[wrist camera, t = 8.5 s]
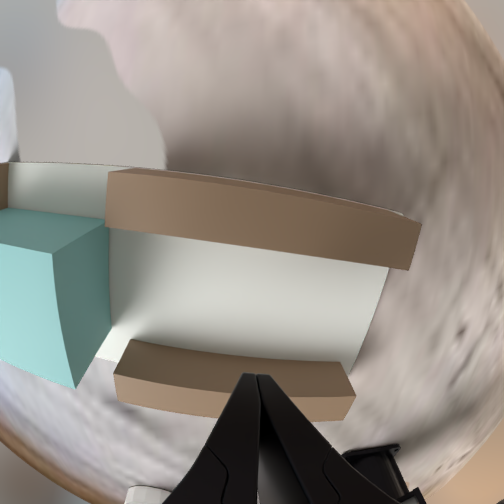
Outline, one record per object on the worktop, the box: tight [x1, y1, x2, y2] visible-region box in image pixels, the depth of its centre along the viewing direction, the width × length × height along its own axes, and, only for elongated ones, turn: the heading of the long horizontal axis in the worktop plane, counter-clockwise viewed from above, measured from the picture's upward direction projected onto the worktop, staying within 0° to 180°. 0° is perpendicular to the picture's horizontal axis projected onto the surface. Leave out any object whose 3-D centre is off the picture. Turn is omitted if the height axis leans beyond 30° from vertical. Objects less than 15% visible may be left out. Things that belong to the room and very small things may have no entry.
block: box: [0, 208, 112, 389], centre depth 11 cm, size 7×6×5 cm
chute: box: [0, 162, 422, 422], centre depth 13 cm, size 22×11×4 cm, turn 80°
